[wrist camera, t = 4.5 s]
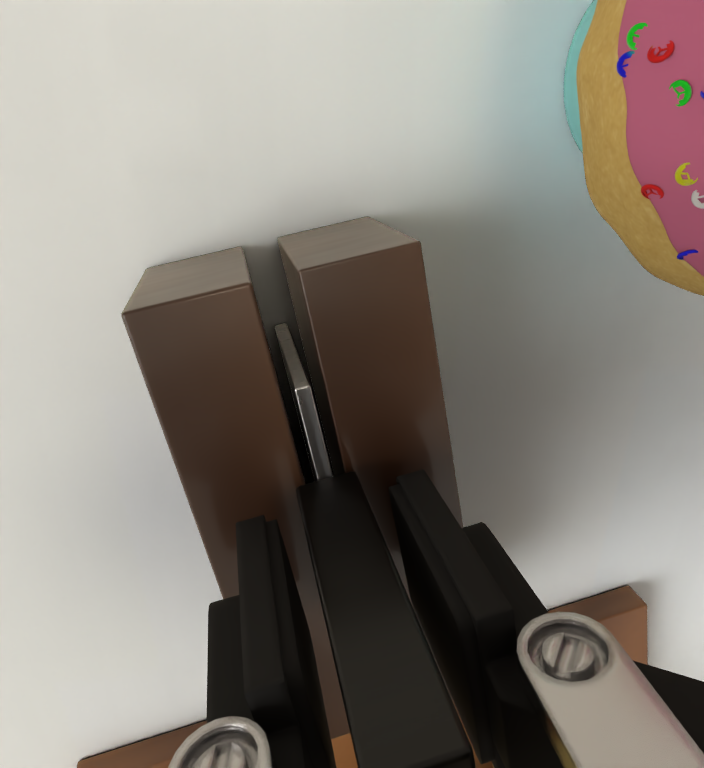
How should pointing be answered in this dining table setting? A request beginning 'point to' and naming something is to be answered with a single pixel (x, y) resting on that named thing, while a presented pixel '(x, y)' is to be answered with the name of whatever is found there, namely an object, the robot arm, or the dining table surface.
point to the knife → (370, 615)
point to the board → (612, 609)
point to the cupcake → (644, 128)
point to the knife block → (265, 403)
